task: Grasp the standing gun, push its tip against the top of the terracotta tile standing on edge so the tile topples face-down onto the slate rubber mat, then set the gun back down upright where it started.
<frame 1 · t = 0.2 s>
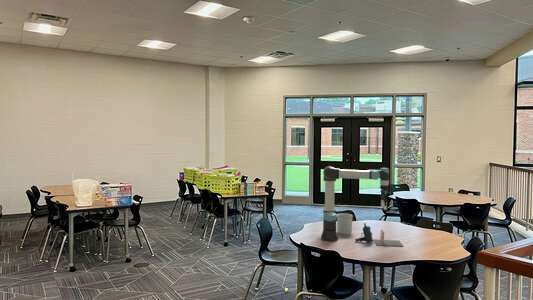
hand: (383, 208, 354), 28 cm above the table, fingers open, 13 cm apart
gun: (364, 242, 339), on the table
utensil holder: (344, 233, 374), on the table
mat: (388, 243, 336), on the table
tile: (382, 242, 337), point 1 cm above the table, touching mat
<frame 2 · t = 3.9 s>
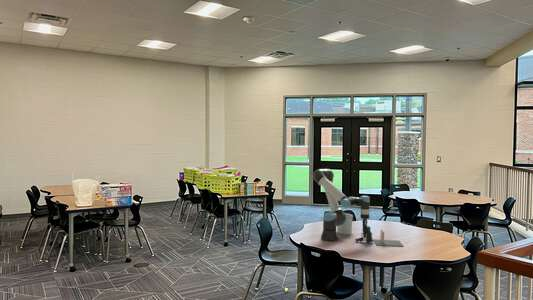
hand: (364, 240, 339), 2 cm above the table, fingers closed on gun, 3 cm apart
gun: (364, 242, 339), on the table, touching gripper
everything else where it was.
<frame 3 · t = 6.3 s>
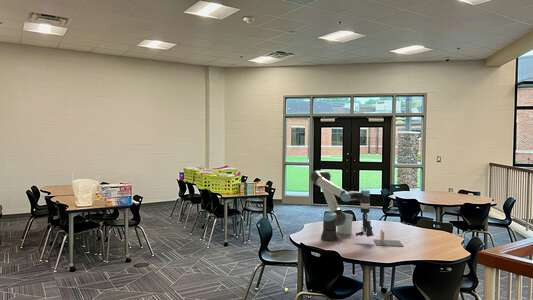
hand: (364, 234, 339), 7 cm above the table, fingers closed on gun, 3 cm apart
gun: (364, 236, 339), point 5 cm above the table, touching gripper
everything else where it was.
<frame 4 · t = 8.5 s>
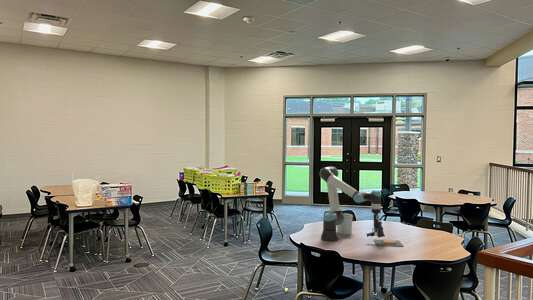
hand: (375, 235, 337), 7 cm above the table, fingers closed on gun, 3 cm apart
gun: (375, 237, 338), point 5 cm above the table, touching gripper
tile: (383, 241, 337), point 2 cm above the table, tilted 90°, touching mat
everything else where it was.
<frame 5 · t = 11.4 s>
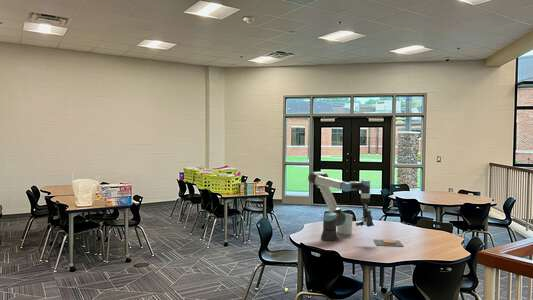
hand: (364, 224, 339), 15 cm above the table, fingers closed on gun, 3 cm apart
gun: (364, 226, 339), point 14 cm above the table, touching gripper
everything else where it was.
when the fingers open (3 cm above the table, at t = 13.7 s): gun drops 1 cm, on the table.
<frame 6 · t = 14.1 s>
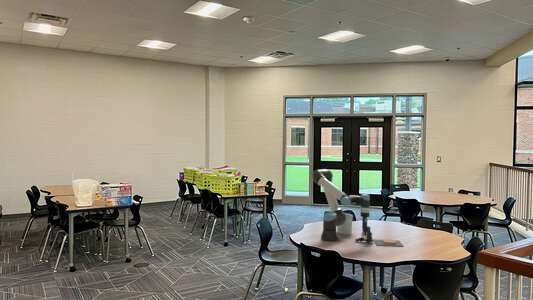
hand: (364, 237, 339), 4 cm above the table, fingers open, 9 cm apart
gun: (364, 242, 339), on the table
everything else where it was.
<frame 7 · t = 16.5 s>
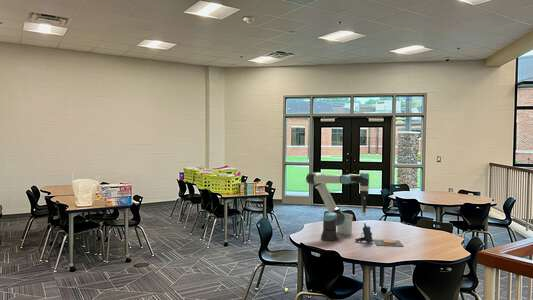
hand: (363, 214, 341), 24 cm above the table, fingers open, 13 cm apart
nothing on the table moved.
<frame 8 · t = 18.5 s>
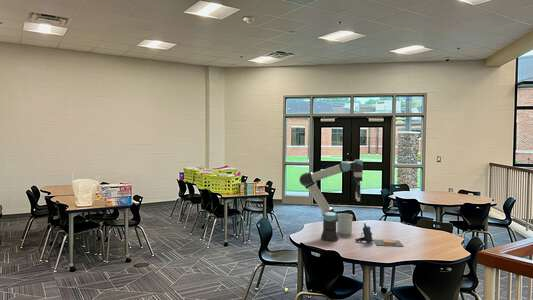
hand: (357, 200, 354), 35 cm above the table, fingers open, 13 cm apart
nothing on the table moved.
at the end: tile tilted 90°; tile inside the target area on the mat (3.6 cm from its centre), point 1.7 cm above the mat's base; the gripper is holding nothing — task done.
